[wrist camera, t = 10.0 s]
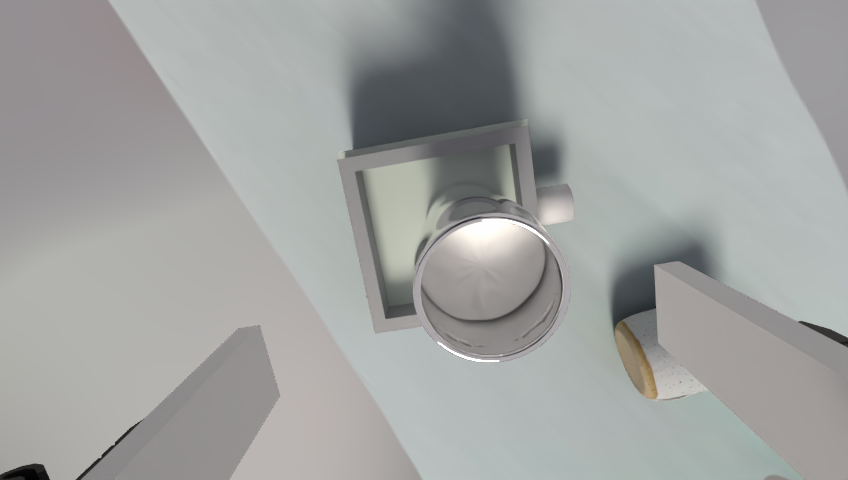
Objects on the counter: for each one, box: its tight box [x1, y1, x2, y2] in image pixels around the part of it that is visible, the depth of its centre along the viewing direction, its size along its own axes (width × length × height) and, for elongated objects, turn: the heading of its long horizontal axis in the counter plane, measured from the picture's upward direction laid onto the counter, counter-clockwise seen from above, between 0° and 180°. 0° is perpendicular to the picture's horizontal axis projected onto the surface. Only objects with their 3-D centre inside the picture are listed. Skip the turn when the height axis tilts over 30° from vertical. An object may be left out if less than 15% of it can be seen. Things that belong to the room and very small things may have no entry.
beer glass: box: [412, 183, 571, 363], centre depth 25 cm, size 7×7×15 cm
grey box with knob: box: [337, 118, 574, 333], centre depth 34 cm, size 14×17×8 cm
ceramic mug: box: [614, 308, 709, 401], centre depth 36 cm, size 11×8×8 cm
